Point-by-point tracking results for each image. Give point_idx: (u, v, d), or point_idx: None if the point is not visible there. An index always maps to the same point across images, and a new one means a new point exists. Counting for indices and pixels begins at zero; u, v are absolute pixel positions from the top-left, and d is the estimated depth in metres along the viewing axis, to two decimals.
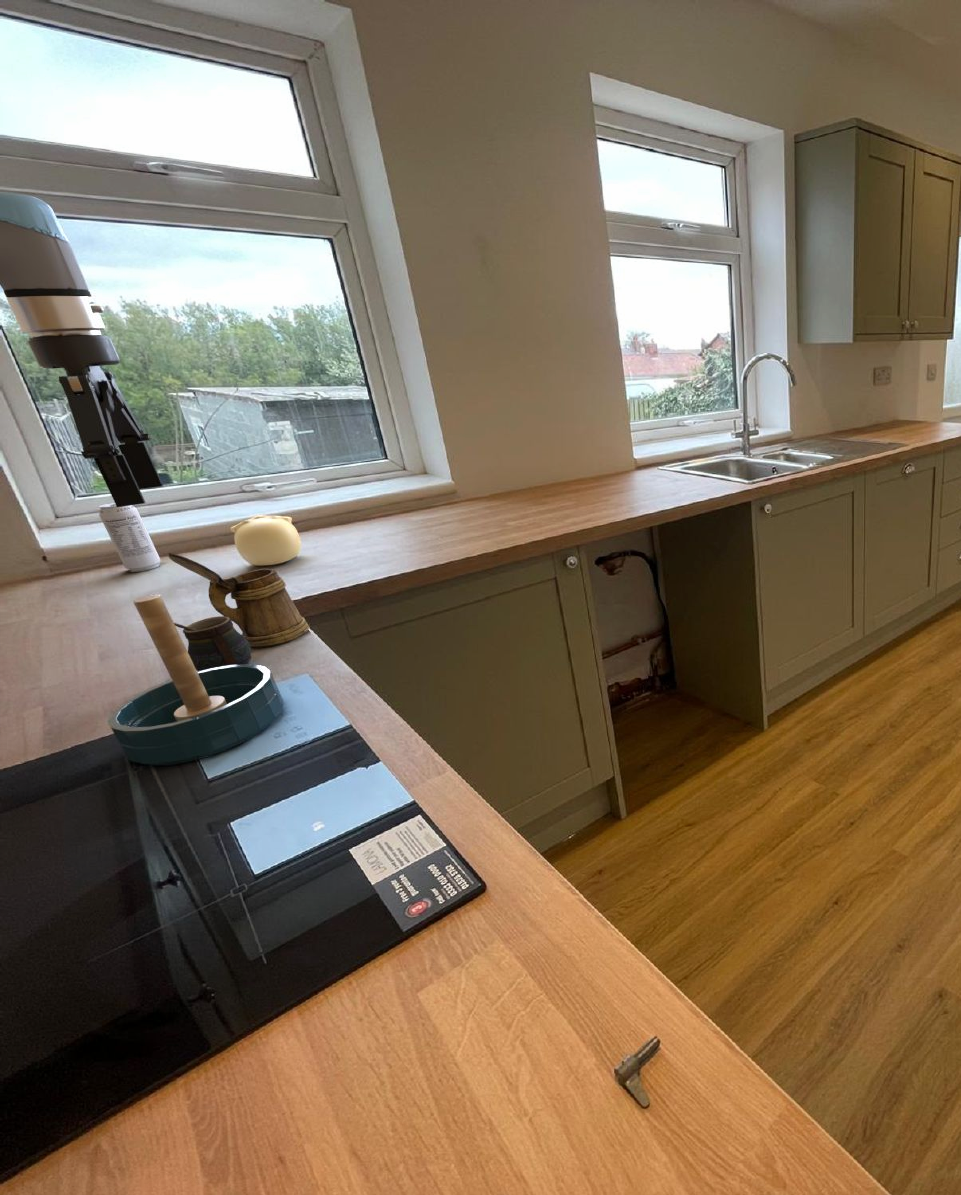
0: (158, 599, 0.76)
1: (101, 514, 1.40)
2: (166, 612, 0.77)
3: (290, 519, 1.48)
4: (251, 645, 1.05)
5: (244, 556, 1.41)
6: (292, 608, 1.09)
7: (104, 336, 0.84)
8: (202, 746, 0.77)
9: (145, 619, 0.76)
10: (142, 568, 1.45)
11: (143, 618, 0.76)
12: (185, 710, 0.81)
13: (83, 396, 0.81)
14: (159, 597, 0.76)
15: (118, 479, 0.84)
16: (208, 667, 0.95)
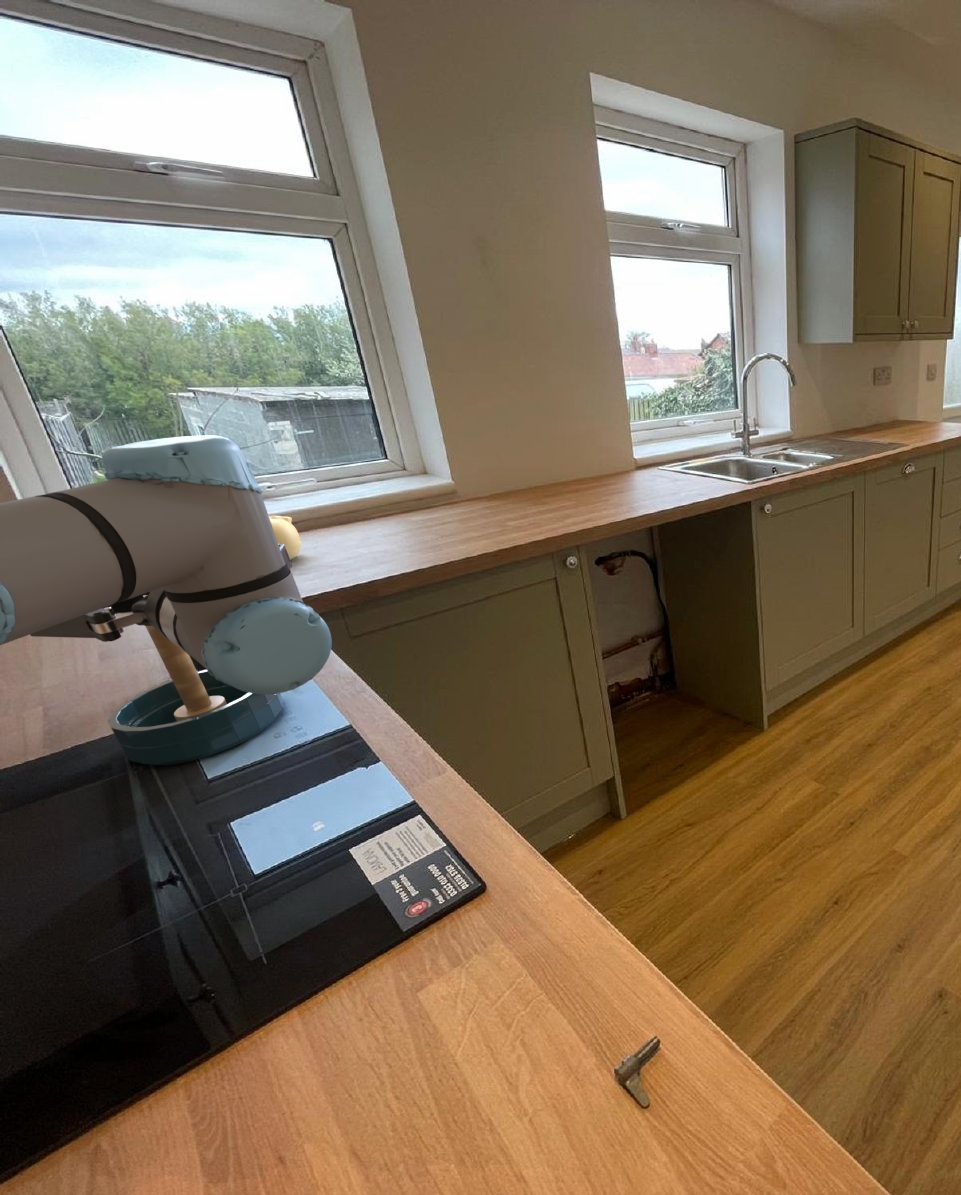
0: None
1: None
2: None
3: (290, 519, 1.48)
4: None
5: None
6: None
7: None
8: (202, 746, 0.77)
9: None
10: None
11: None
12: (185, 710, 0.81)
13: None
14: None
15: None
16: None
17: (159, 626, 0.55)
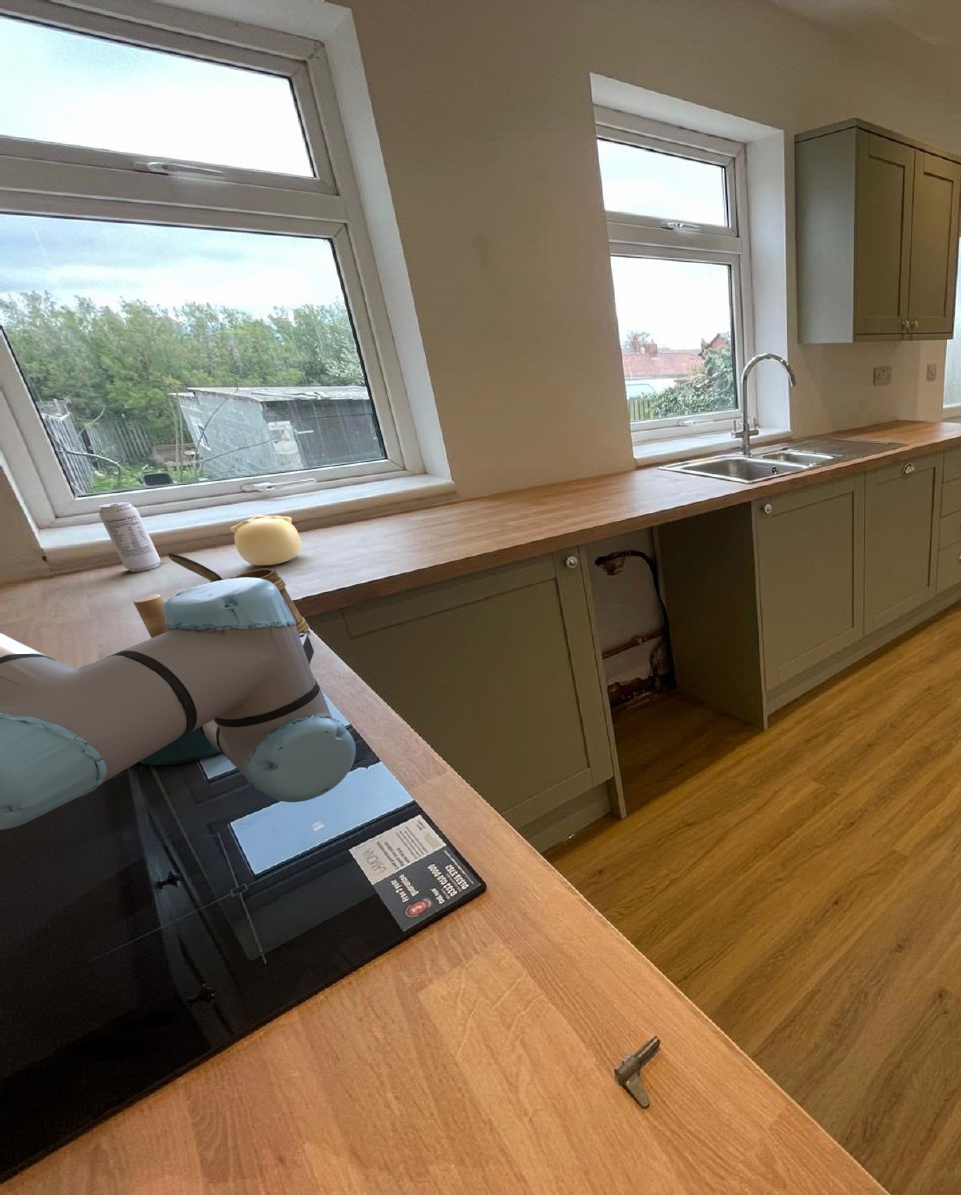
0: (158, 599, 0.76)
1: (101, 514, 1.40)
2: None
3: (290, 519, 1.48)
4: None
5: (244, 556, 1.41)
6: (292, 608, 1.09)
7: None
8: (202, 746, 0.77)
9: (145, 619, 0.76)
10: (142, 568, 1.45)
11: (143, 618, 0.76)
12: None
13: None
14: (159, 597, 0.76)
15: None
16: None
17: (202, 730, 0.62)
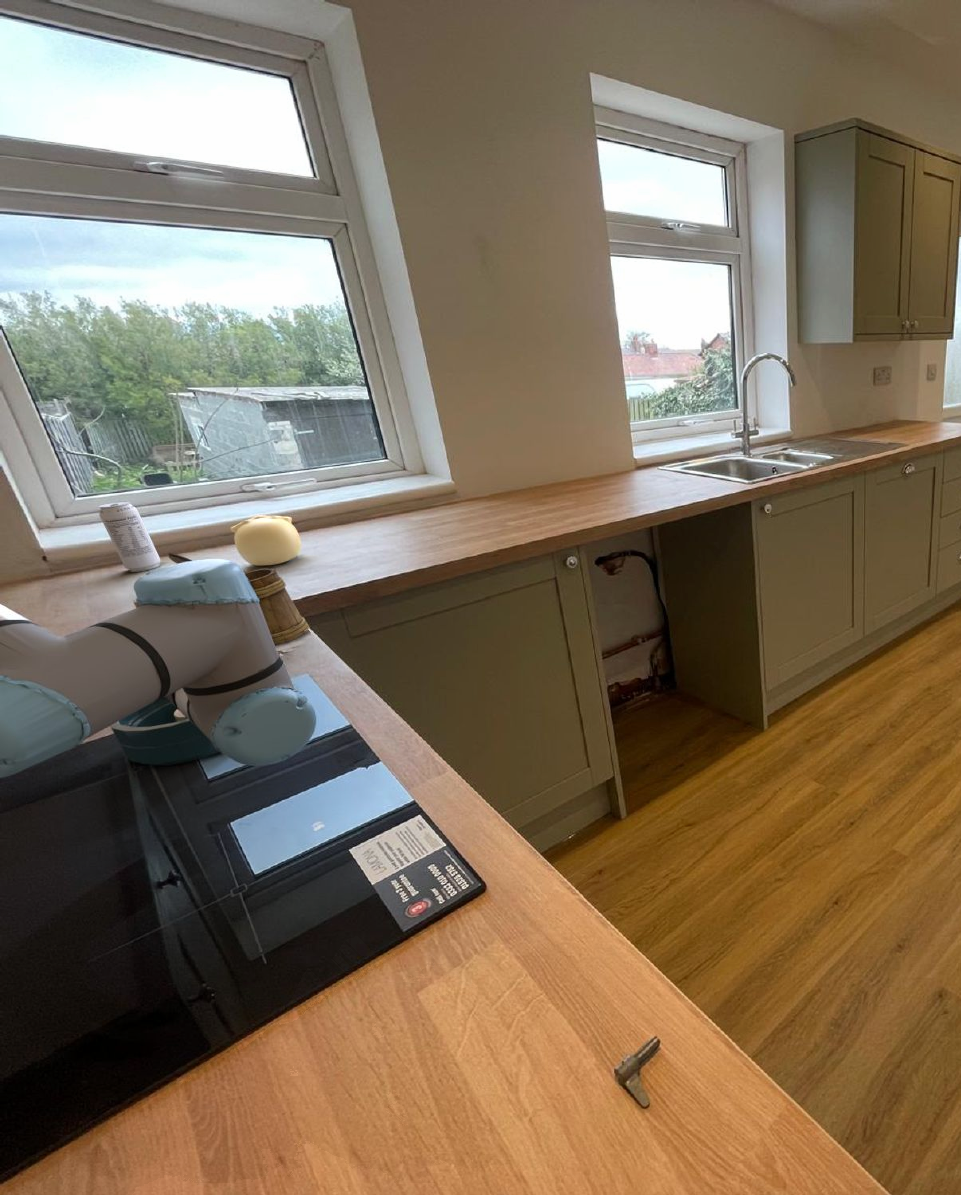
0: None
1: (101, 514, 1.40)
2: None
3: (290, 519, 1.48)
4: None
5: (244, 556, 1.41)
6: (292, 608, 1.09)
7: None
8: (202, 746, 0.77)
9: None
10: (142, 568, 1.45)
11: None
12: None
13: None
14: None
15: None
16: None
17: (175, 703, 0.67)
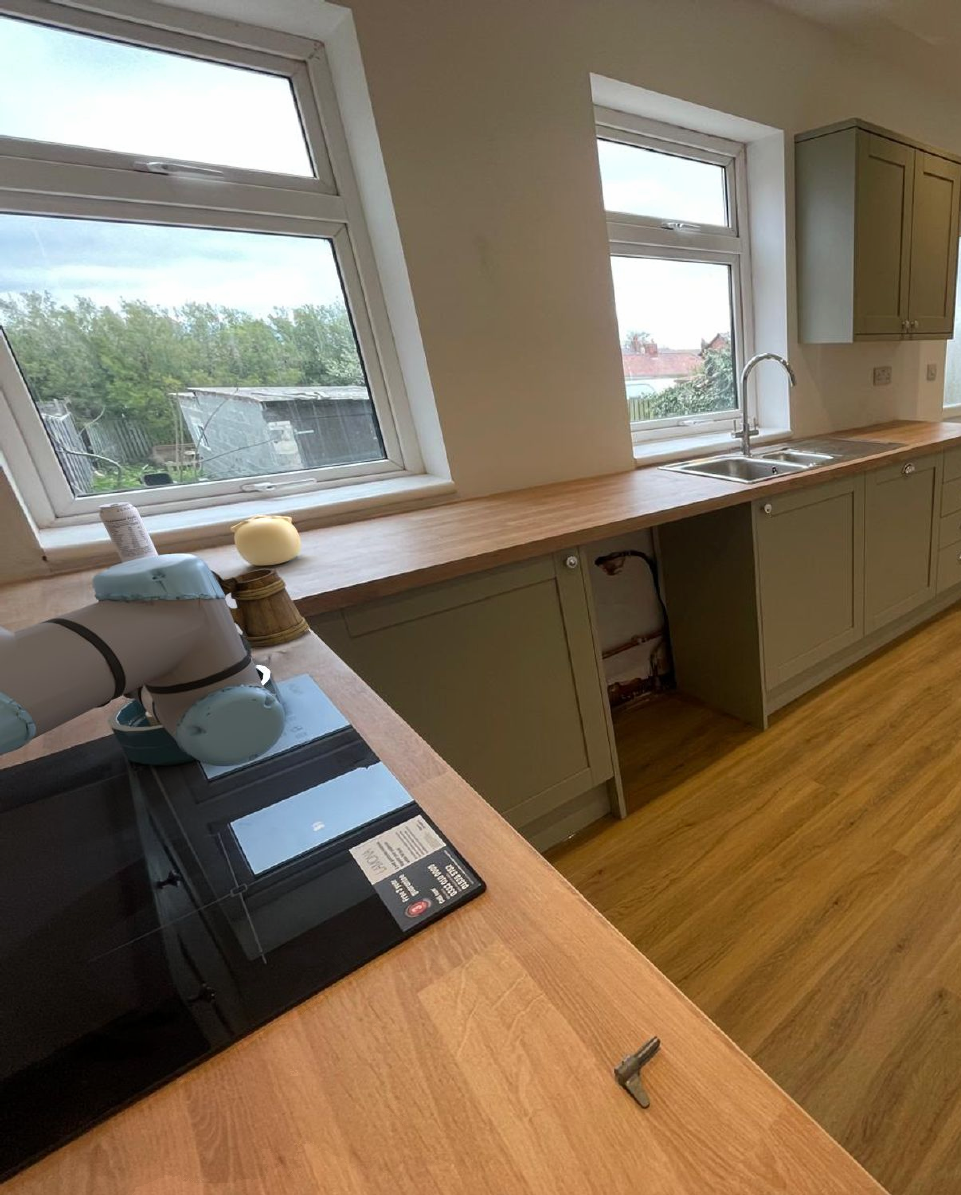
0: None
1: (101, 514, 1.40)
2: None
3: (290, 519, 1.48)
4: (251, 645, 1.05)
5: (244, 556, 1.41)
6: (292, 608, 1.09)
7: None
8: None
9: None
10: None
11: None
12: None
13: None
14: None
15: None
16: None
17: (141, 702, 0.65)
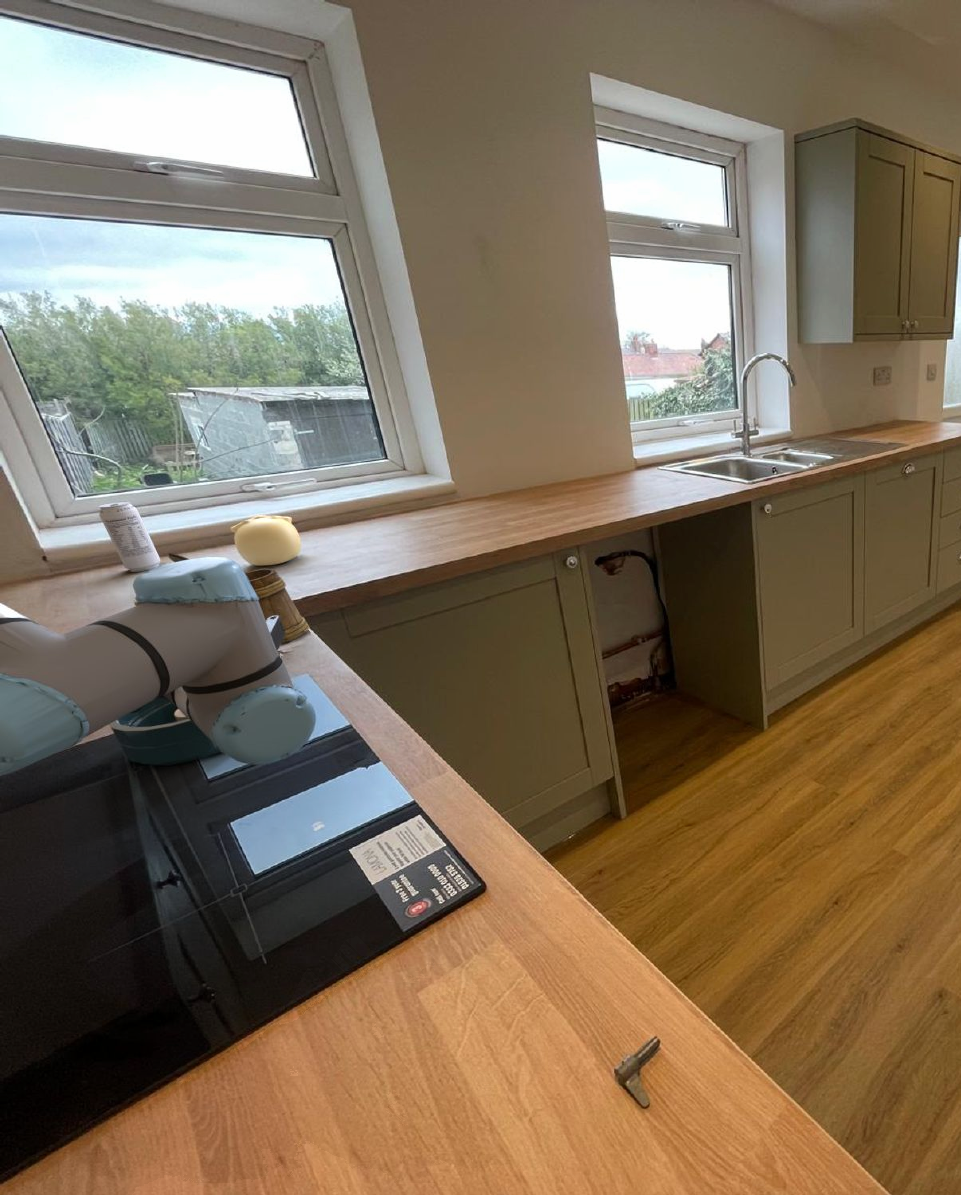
0: None
1: (101, 514, 1.40)
2: None
3: (290, 519, 1.48)
4: None
5: (244, 556, 1.41)
6: (292, 608, 1.09)
7: None
8: (202, 746, 0.77)
9: None
10: (142, 568, 1.45)
11: None
12: None
13: None
14: None
15: None
16: None
17: (174, 701, 0.67)
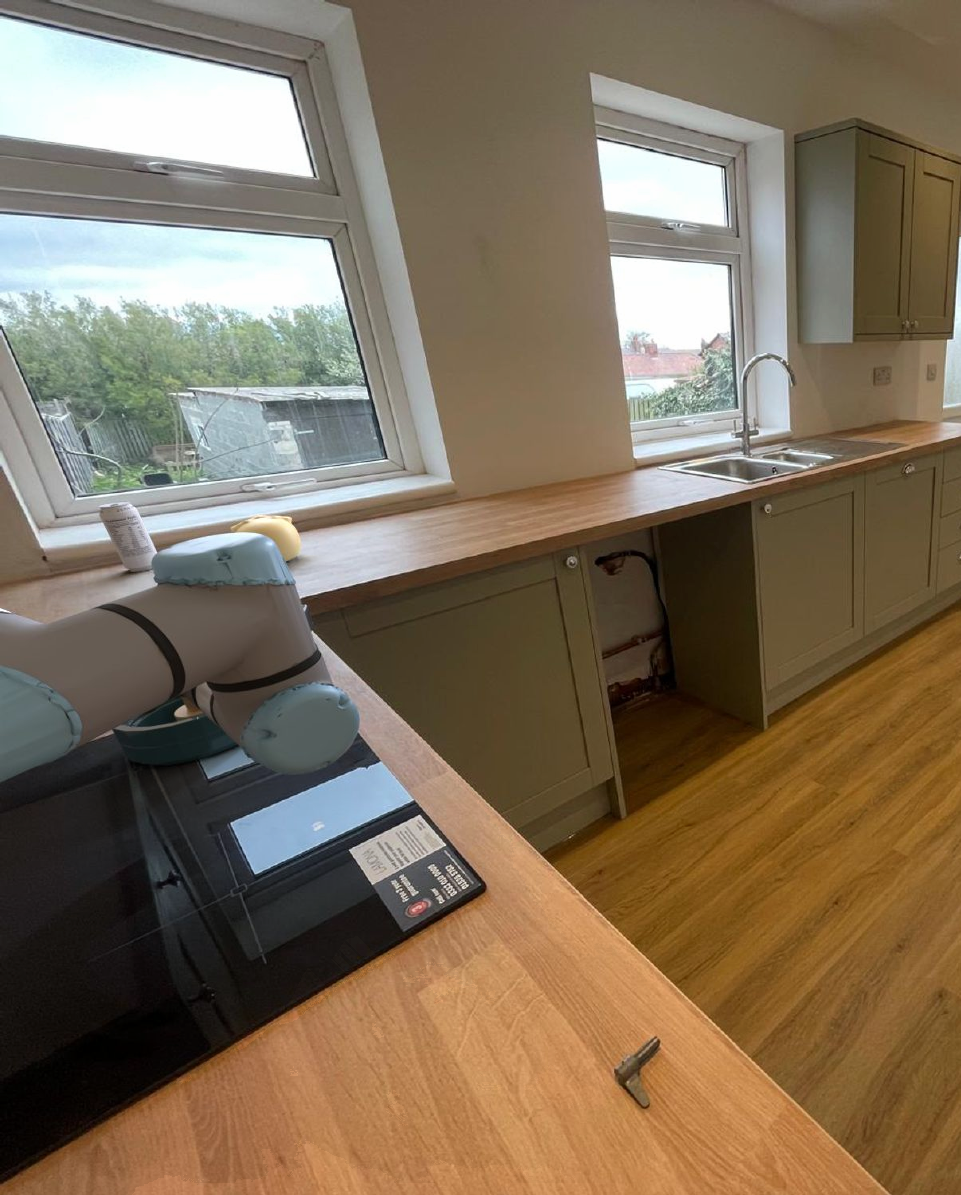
0: None
1: (101, 514, 1.40)
2: None
3: (290, 519, 1.48)
4: None
5: None
6: None
7: None
8: (202, 746, 0.77)
9: None
10: (142, 568, 1.45)
11: None
12: (185, 710, 0.81)
13: None
14: None
15: None
16: None
17: (194, 701, 0.58)
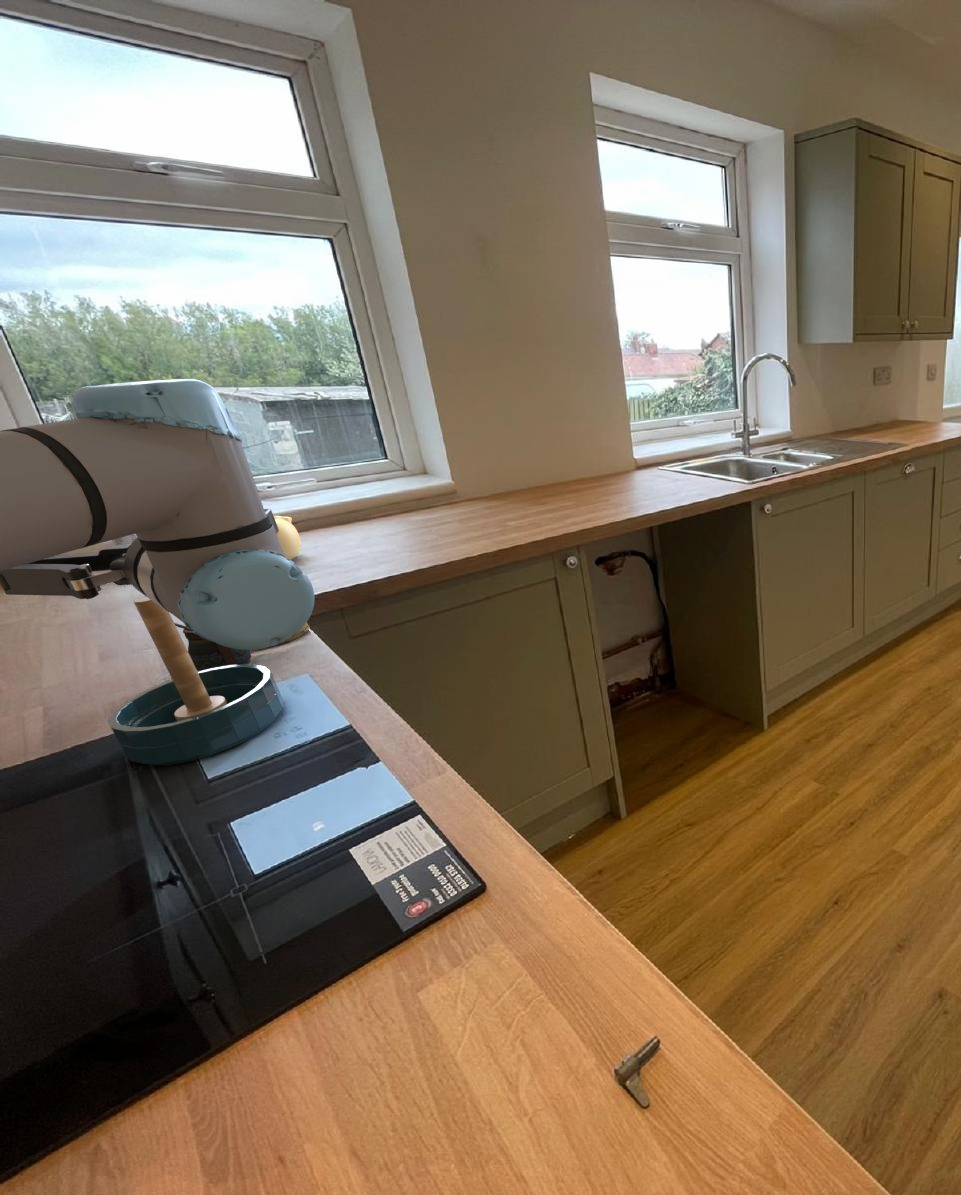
0: None
1: None
2: (166, 612, 0.77)
3: (290, 519, 1.48)
4: None
5: None
6: None
7: None
8: (202, 746, 0.77)
9: (145, 619, 0.76)
10: None
11: (143, 618, 0.76)
12: (185, 710, 0.81)
13: None
14: None
15: None
16: (208, 667, 0.95)
17: (137, 583, 0.53)
